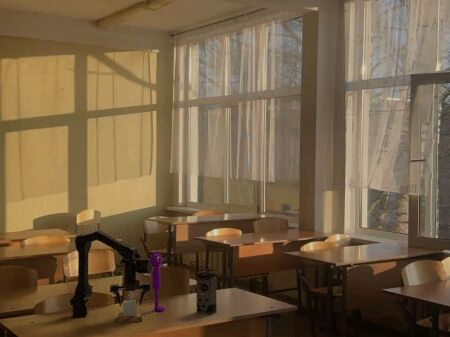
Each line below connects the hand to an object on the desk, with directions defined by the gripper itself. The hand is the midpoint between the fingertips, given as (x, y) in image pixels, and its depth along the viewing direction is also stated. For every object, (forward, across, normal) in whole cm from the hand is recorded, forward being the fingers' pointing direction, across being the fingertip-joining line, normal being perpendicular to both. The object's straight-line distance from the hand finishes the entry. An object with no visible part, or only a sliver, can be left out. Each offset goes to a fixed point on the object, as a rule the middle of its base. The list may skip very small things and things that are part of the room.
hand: (130, 305), depth 290 cm
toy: (+7, +13, +16) cm, 22 cm away
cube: (+4, 0, 0) cm, 4 cm away
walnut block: (+7, 0, 0) cm, 7 cm away
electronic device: (+7, +37, +7) cm, 39 cm away
